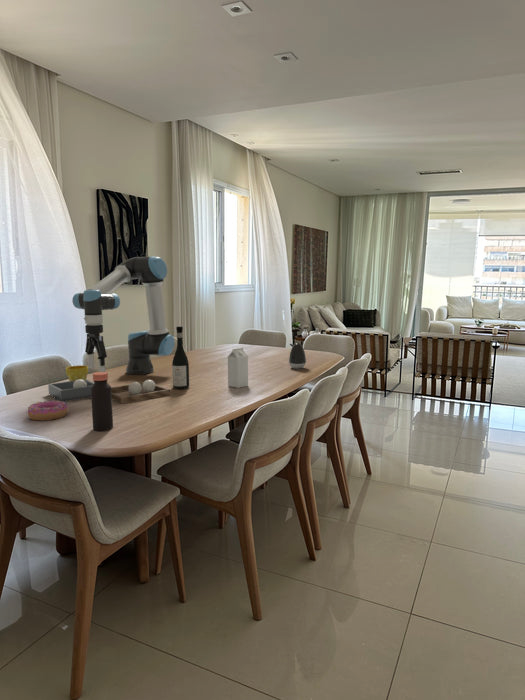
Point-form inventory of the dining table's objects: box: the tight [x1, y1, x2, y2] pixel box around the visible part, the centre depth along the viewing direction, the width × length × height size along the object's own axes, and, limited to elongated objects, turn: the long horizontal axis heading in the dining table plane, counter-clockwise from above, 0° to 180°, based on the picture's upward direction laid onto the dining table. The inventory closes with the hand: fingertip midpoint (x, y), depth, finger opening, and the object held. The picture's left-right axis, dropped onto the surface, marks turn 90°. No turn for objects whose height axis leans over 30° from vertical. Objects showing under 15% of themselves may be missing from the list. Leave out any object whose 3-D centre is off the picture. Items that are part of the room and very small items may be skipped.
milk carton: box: [227, 347, 249, 389], centre depth 234 cm, size 7×7×19 cm
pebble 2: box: [128, 381, 143, 395], centre depth 217 cm, size 6×6×6 cm
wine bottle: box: [171, 326, 190, 390], centre depth 230 cm, size 8×8×30 cm
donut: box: [27, 399, 69, 422], centre depth 184 cm, size 14×14×5 cm
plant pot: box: [65, 364, 89, 381], centre depth 234 cm, size 10×10×10 cm
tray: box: [111, 382, 171, 404], centre depth 218 cm, size 24×22×2 cm
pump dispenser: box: [288, 342, 307, 370], centre depth 281 cm, size 10×10×15 cm
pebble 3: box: [142, 379, 156, 393], centre depth 222 cm, size 6×6×6 cm
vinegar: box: [90, 371, 114, 432], centre depth 167 cm, size 7×7×20 cm
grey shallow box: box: [47, 379, 94, 402], centre depth 216 cm, size 17×17×5 cm
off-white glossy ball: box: [73, 379, 87, 388], centre depth 218 cm, size 6×6×6 cm
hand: (96, 370), depth 217 cm, fingers open, 13 cm apart
